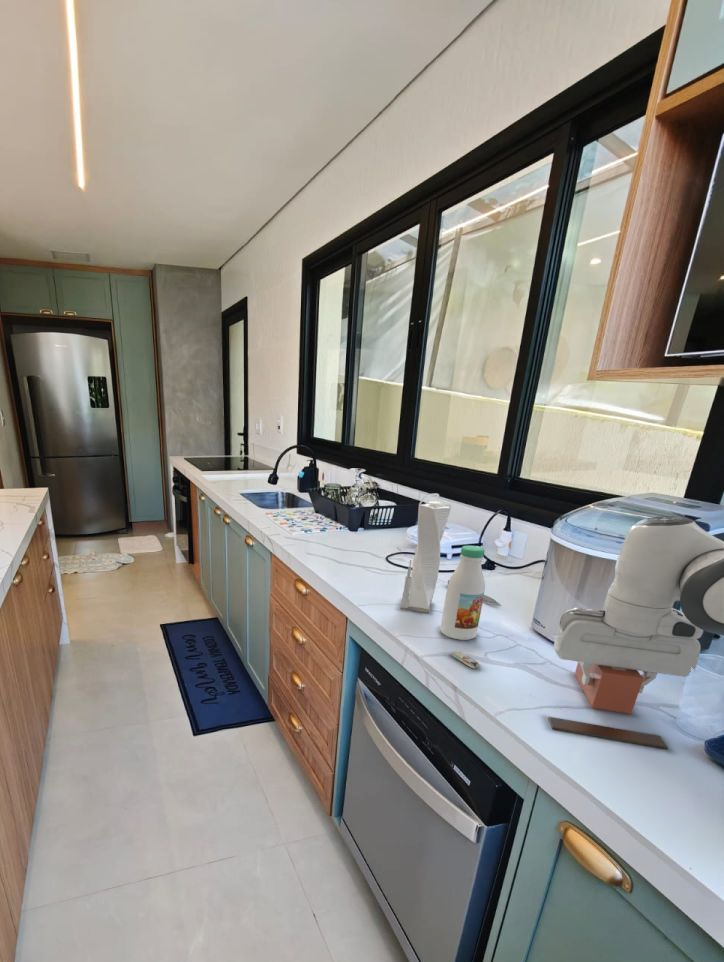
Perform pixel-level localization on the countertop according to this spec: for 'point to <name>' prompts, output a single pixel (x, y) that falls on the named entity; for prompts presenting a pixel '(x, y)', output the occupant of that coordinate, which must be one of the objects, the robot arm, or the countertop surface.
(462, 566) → the milk bottle
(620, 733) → the walnut ruler
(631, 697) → the tissue box
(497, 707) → the countertop surface
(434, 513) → the skyscraper
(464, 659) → the granola bar
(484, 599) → the kitchen knife
